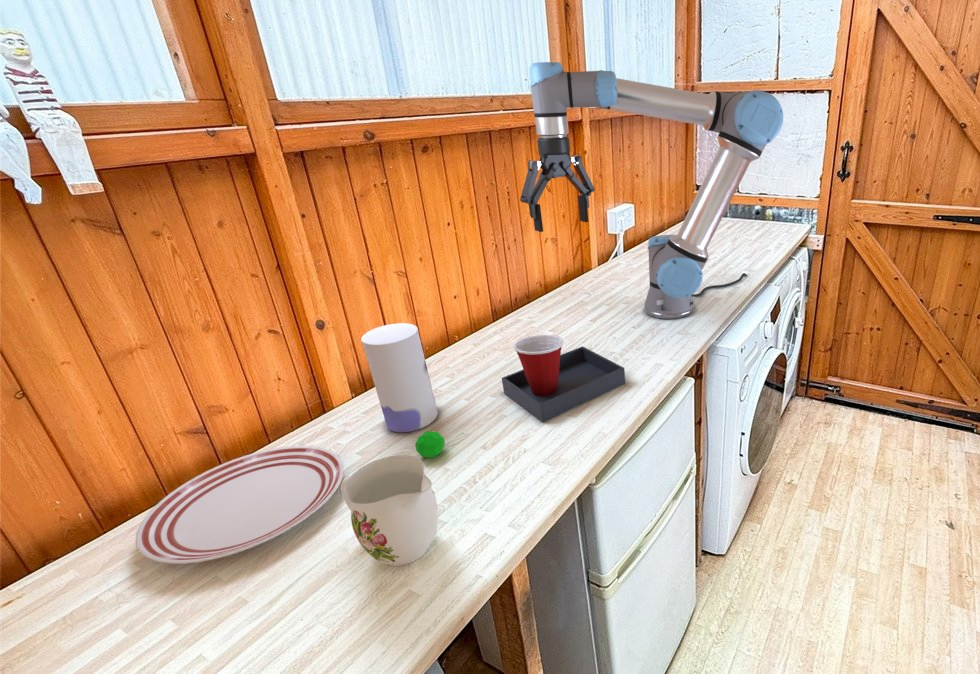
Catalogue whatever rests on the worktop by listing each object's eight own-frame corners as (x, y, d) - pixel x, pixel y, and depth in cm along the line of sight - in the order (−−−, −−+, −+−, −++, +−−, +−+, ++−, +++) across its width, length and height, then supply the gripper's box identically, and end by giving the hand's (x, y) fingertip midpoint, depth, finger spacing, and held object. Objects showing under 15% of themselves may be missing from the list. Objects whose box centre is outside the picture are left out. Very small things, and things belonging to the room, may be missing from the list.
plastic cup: (575, 378, 121) (570, 332, 116) (560, 403, 111) (554, 353, 106) (531, 376, 123) (524, 330, 118) (512, 400, 113) (504, 351, 108)
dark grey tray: (584, 360, 130) (582, 346, 129) (625, 383, 119) (624, 367, 118) (504, 393, 117) (501, 377, 115) (542, 422, 106) (539, 405, 104)
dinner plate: (294, 441, 103) (289, 427, 101) (381, 485, 90) (376, 470, 89) (115, 535, 82) (104, 519, 80) (194, 610, 69) (184, 593, 67)
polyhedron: (430, 466, 94) (425, 444, 92) (412, 458, 97) (407, 437, 95) (452, 450, 98) (447, 430, 96) (434, 443, 101) (429, 423, 99)
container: (448, 410, 111) (428, 325, 103) (415, 436, 103) (390, 346, 95) (410, 403, 115) (388, 320, 106) (375, 428, 106) (348, 340, 98)
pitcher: (386, 506, 85) (364, 437, 80) (474, 535, 79) (457, 463, 73) (327, 556, 76) (296, 483, 70) (420, 594, 70) (396, 516, 64)
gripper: (586, 132, 132) (593, 215, 141) (496, 140, 117) (510, 232, 126) (604, 133, 127) (610, 219, 136) (513, 141, 112) (526, 237, 121)
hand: (562, 226), depth 131 cm, fingers open, 13 cm apart
